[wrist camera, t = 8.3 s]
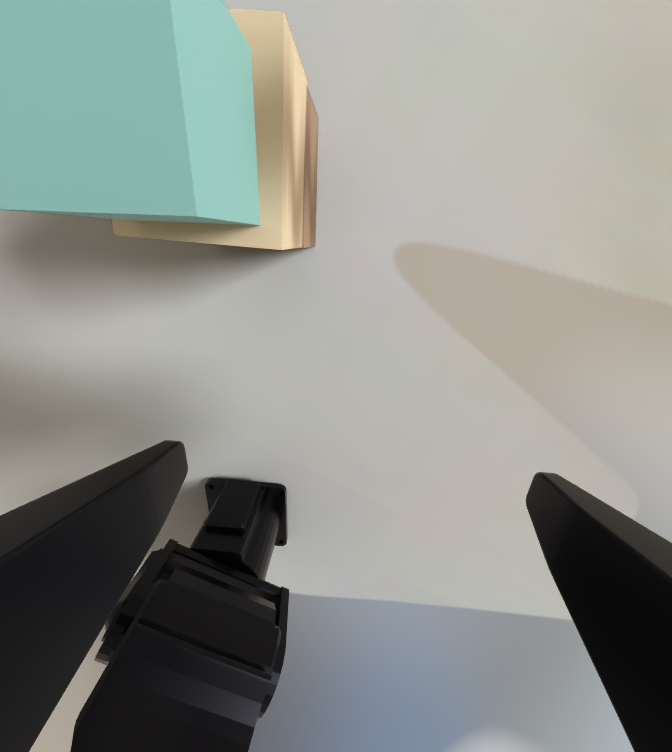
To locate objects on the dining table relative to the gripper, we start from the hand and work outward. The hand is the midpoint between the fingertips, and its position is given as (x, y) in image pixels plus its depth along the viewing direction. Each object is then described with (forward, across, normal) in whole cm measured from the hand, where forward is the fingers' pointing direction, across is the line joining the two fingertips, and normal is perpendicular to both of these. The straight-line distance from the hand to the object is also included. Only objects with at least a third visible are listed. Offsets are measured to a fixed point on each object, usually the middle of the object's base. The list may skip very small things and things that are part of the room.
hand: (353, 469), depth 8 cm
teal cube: (+5, +6, -8) cm, 11 cm away
